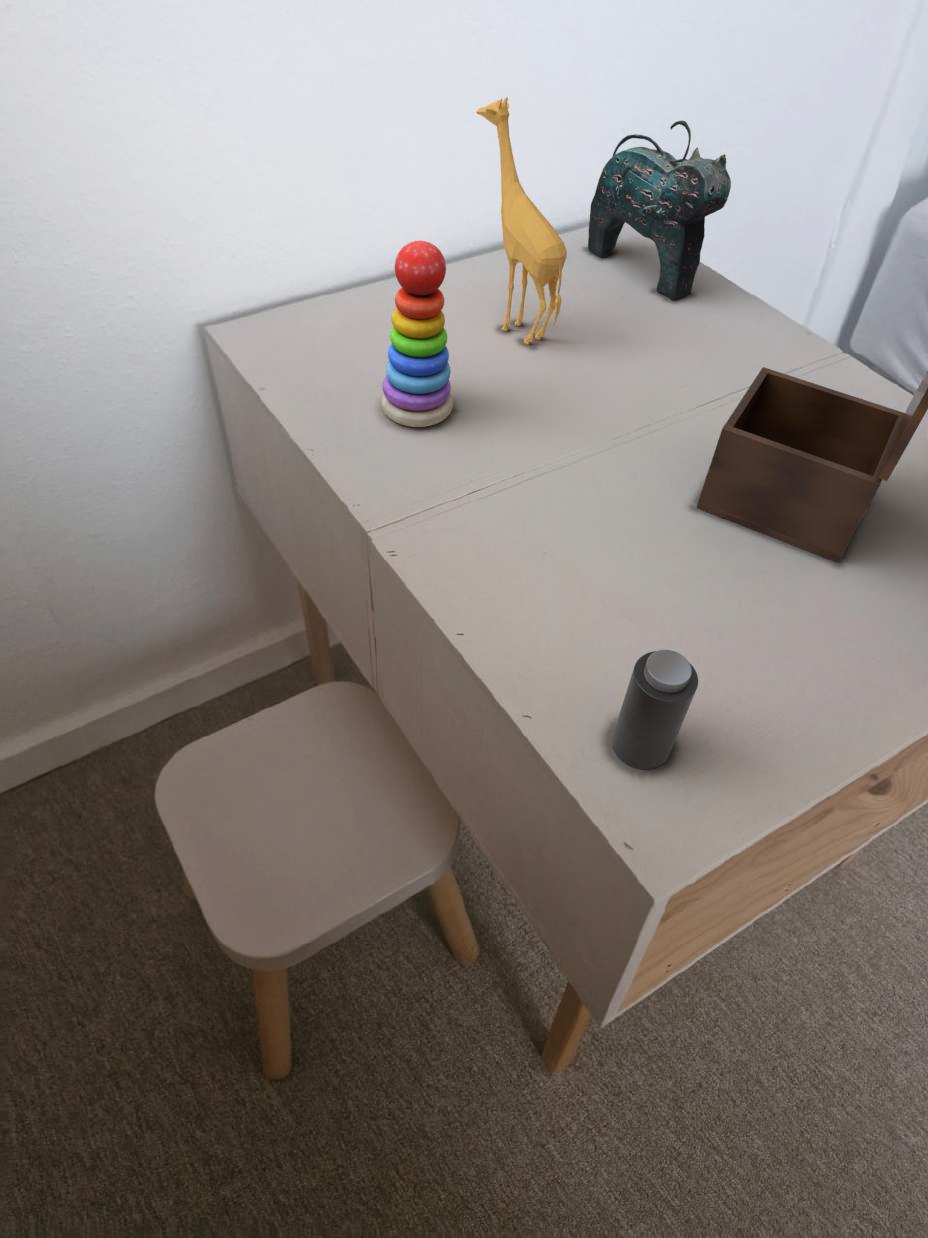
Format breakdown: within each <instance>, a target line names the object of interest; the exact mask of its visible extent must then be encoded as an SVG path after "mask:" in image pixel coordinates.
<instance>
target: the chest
mask: <svg viewBox="0 0 928 1238" xmlns="http://www.w3.org/2000/svg"><path fill="white" fill-rule="evenodd" d="M904 415H905V412H903V411H900V410H897V409H894V408H890V407H887V406H885V405H881V404H879V403H876V402H872V401H869V400H866V399H863V398H859V397H858V396H854V395H850V394H847V393H844V392H841V391H838V390H836V389H832V388H830V387H826V386H823V385H820V384H818V383H815V382H810V381H807V380H806V379H805V380H804V379H801V378H798V377H795V376H793V375H789V374H786V373H783V372H780V371H778V370H774V369H771V368H768V367H765V366H763V367H762V368H761V369H760V371H759V372H758V374H757V375H756V377H755V378H754V380H753V381H752V383H751V384H750V386H749V387H748V389H747V390H746V392H745V394H744V395H743V397H742V398H741V400H740V401H739V402H738V404H737V406H736V407H735V408H734V410H733V411H732V413H731V414H730V416H729V418H727V421H726V422H725V424H724V425H723V427H721V431H720V434H719V437H718V440H717V443H716V445H715V446H716V447H715V449H714V451H713V452H714V453H713V456H712V458H711V461H710V465H709V468H708V469H707V470H708V471H707V474H706V477H705V480H704V483H703V486H702V490H701V492H700V495H699V498H698V501H697V504H696V509H699V510H702V511H704V512H707V513H709V514H712V515H715V516H717V517H719V518H722V519H724V520H727V521H730V522H733V523H736V524H738V525H740V526H743V527H745V528H748V529H751V530H753V531H756V532H758V533H761V534H764V535H766V536H769V537H772V538H774V539H777V540H779V541H782V542H783V543H787V544H789V545H792V546H794V547H797V548H800V549H802V550H804V551H808V552H810V553H813V554H815V555H818V556H820V557H823V558H825V559H828V560H830V561H833V562H835V563H840V561H841V559H842V558H843V556H844V553H845V552H846V550H847V548H848V546H849V544H850V543H851V540H852V538H853V536H854V535H855V533H856V531H857V529H858V527H859V525H860V523H861V521H862V519H863V518H864V516H865V514H866V512H867V510H868V508H869V506H870V504H871V503H872V500H873V499H874V497H875V495H876V493H877V492H878V489H879V487H880V486H881V484H882V481H883V480H882V479H879V478H878V477H879V475H880V472H881V470H882V468H883V465H884V463H885V460H886V458H887V455H888V453H889V451H890V448H891V446H892V443H893V441H894V439H895V436H896V434H897V431H898V429H899V427H900V424H901V422H902V419H903V417H904Z"/></svg>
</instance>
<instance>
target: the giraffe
mask: <svg viewBox="0 0 928 1238" xmlns="http://www.w3.org/2000/svg"><path fill="white" fill-rule="evenodd" d="M508 101H509V98H508V96H506V97H505V98H504V99H503V98H502V97H501V98H500V99H498V100H496V101H493V102H491V103H489V104H487V105H486V106H483V107H480V108H477V110H476V111H475V113H476V114H477V115H480V116H481V117H483V118H484V119H486V120H487V121H488V122H490V123H491V124H492V125H494V126H495V127H496V132H497V138H498V145H499V157H500V158H499V159H500V186H501V187H500V191H501V193H500V194H501V204H500V205H501V206H500V216H501V217H500V219H501V231H502V243H503V248H504V251H505V254H506V257H507V260H508V285H507V289H508V295H507V306H506V308H507V309H506V314H505V318H504V322H503V326H502V327H501V330H502V331H503V332H508V331H509V326H510V324H511V311H512V300H513V292H514V289H515V285H514V284H515V283H514V281H515V274H516V273H515V272H516V265H518V263H521V265H522V267H521V268H522V270H521V286H522V287H521V288H522V289H521V290H522V291H521V299H520V306H519V310H518V315H517V319H516V321H515V322H514V326H516V327H520V326H521V325H522V321H523V319H524V308H525V299H526V293H527V287H528V282H529V281H528V275H529V277H530V278H531V279H532V281H533V284H534V287H535V290H536V293H537V296H538V299H539V308H538V310H537V314H536V318H535V321H534V323H533V326H532V328H531V330H530V332H529V333H528V334H527V335H526V337H524V340H523V344H525V345H528V346H529V345H531V342H534V338H535V340H538V341H541V338H543V337H545V335H546V329H547V326H548V324H549V321H550V318H551V316H552V314H553V313H554V321H553V327H556V322H557V319H558V316H559V313H560V311H561V305H562V298H561V294H560V292H561V285H562V275H563V268H564V266H565V263H566V260H567V255H568V253H567V252H568V251H567V248H566V245H565V242H564V241H563V239H562V238H561V236H560V235H559V233H558V232H557V231H556V230H555V227H554V226H553V225H552V224H551V223H550V222H549V220H548V219H547V218H546V216H545V215H543V213H542V212H541V211H540V209H539V208H538V207H537V205H535V203H534V202H533V201H532V199H530V197H529V196H528V195H527V194H526V192H525V190H524V188H523V186H522V185H521V182H520V179H519V175H518V172H517V169H516V168H517V167H516V163H515V158H514V154H513V149H512V142H511V138H510V125H509V118H510V112H509V108H510V103H509V102H508ZM557 284H558V285H557ZM546 285H548V291H549V292H548V293H549V299H550V300H549V304H548V305H549V306H548V310H547V302H546V296H545V286H546ZM557 286H558V287H557ZM546 310H547V314H546V316H545V319H544V321H543V324H542V326H541V328H539V329H538V331H537V333H536V330H537V328H538V325H539V323H540V320H541V319H542V317H543V315H544V313H545V312H546ZM554 310H555V311H554Z"/></svg>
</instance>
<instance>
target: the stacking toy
mask: <svg viewBox="0 0 928 1238" xmlns="http://www.w3.org/2000/svg"><path fill="white" fill-rule="evenodd" d="M446 273H447V265H446V259H445V257H444V255H443V253H442V252H441V250H440V249H439V248H438V247H437V246H436V245H434V244H433V243H432V242H429V241H426V240H414V241H411V242H408V243H407V244H405V245H404V246H402V247H401V249H400V250H399V252H398V253H397V254H396V257H395V261H394V274H395V278H396V280H397V282H398V285H400V288H399V289H398V290H397V291H396V293H395V297H394V305H395V308H394V310H393V311H392V314H391V324H392V328H391V330H390V335H389V337H390V342H391V343H390V345H389V347H388V350H387V358H388V362H387V364H386V368H385V376H384V378H383V382H382V392H383V394H382V395H381V402H380V403H381V408H382V411H383V412H384V414H385V415H386V416H387V417H388V419H390V420H391V421H393V422H394V423H397V424H399V425H402V426H406V427H412V428H424V427H430V426H434V425H438V424H440V423H441V422H442V421H444V420H445V419H446V418H448V416H449V415H451V412H452V411H453V408H454V407H453V406H454V399H453V396H452V394H451V389H452V388H451V387H452V386H451V382H450V377H451V373H452V372H451V365H450V364H449V358H450V352H449V349H448V346H447V343H448V333H447V330H446V329H445V323H446V318H445V314H444V312H443V311H442V310H443V309H444V307H445V306H444V305H445V297H444V294H443V292H442V291H441V290H440V289H439V288H440V287H441V286H442V285H443V283H444V281H445V277H446Z"/></svg>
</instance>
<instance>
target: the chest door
mask: <svg viewBox="0 0 928 1238" xmlns="http://www.w3.org/2000/svg"><path fill="white" fill-rule="evenodd" d="M927 411H928V370H926V373H925V374H924V376H923V378H922V380H921V381H920V383H919V385H918V387H917V389H916V391H915V393H914V395H913V397H912V399H911V400H910V402H909V404H908V406H907V407H906V410H905V412H904V413H905V415H904V417H903V419H902V422H901V424H900V427H899V429H898V431H897V434H896V436H895V439H894V441H893V443H892V446H891V448H890V451H889V453H888V455H887V458H886V460H885V463H884V465H883V468H882V470H881V472H880V475H879V477H878V478H879V479H882V481H885V482H889V479H890V477H891V476H892V474H893V472H894V470H895V469H896V467H897V465H898V463H899V461H900V459H901V458H902V456H903V454H904V452H905V451H906V449H907V447H908V445H909V444H910V442H911V440H912V438H913V436H914V434H915V433H916V431H917V430H918V428H919V426H920V424H921V422H922V421H923V419H924V417H925V416H926V413H927Z"/></svg>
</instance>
